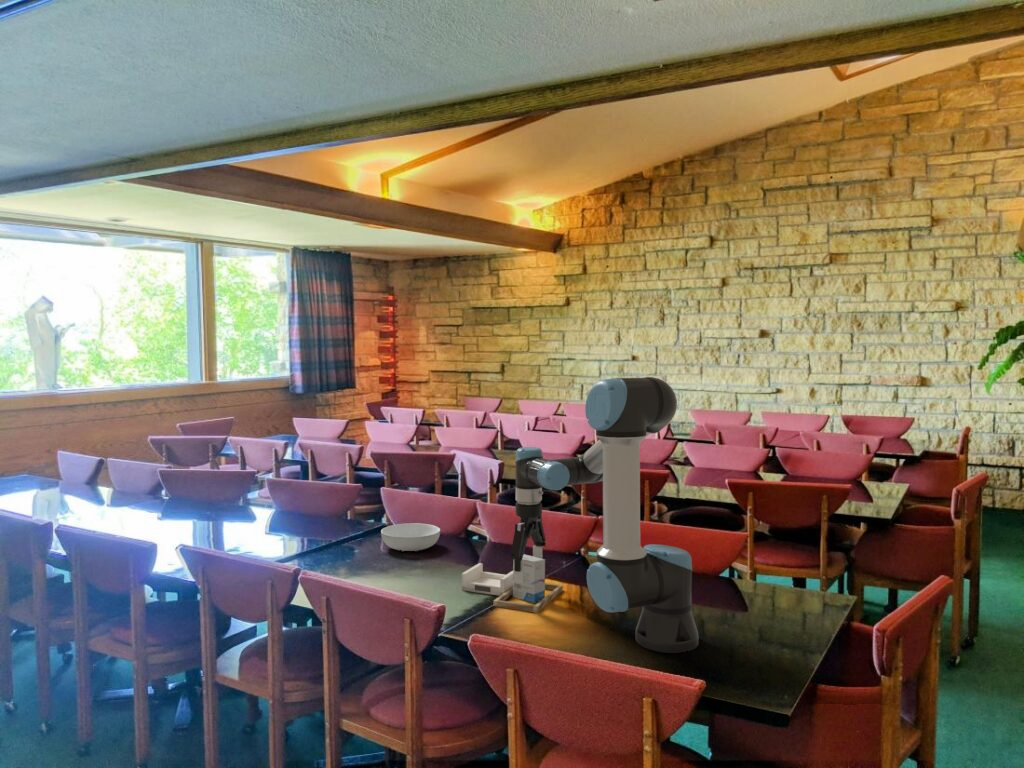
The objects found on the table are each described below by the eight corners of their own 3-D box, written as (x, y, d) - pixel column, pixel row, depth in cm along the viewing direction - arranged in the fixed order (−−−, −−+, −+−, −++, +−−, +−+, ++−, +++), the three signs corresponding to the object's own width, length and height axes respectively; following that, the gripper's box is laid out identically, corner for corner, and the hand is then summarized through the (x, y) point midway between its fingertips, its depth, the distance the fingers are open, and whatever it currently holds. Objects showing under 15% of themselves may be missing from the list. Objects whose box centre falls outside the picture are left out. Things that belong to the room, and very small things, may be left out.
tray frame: (536, 612, 203) (536, 607, 203) (493, 606, 208) (493, 600, 208) (562, 590, 221) (562, 585, 221) (522, 584, 226) (522, 579, 226)
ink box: (546, 599, 213) (546, 558, 213) (534, 603, 210) (534, 562, 209) (523, 592, 219) (523, 552, 219) (512, 596, 216) (512, 556, 215)
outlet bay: (503, 596, 216) (503, 579, 215) (461, 590, 221) (461, 573, 221) (520, 584, 226) (520, 568, 226) (479, 579, 232) (479, 563, 232)
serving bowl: (437, 556, 257) (436, 537, 256) (376, 556, 257) (375, 537, 256) (443, 540, 277) (443, 522, 277) (387, 540, 278) (386, 522, 277)
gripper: (523, 512, 200) (523, 590, 202) (556, 494, 223) (556, 564, 224) (498, 509, 203) (497, 586, 205) (533, 492, 226) (533, 561, 227)
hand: (528, 575), depth 214 cm, fingers open, 13 cm apart
